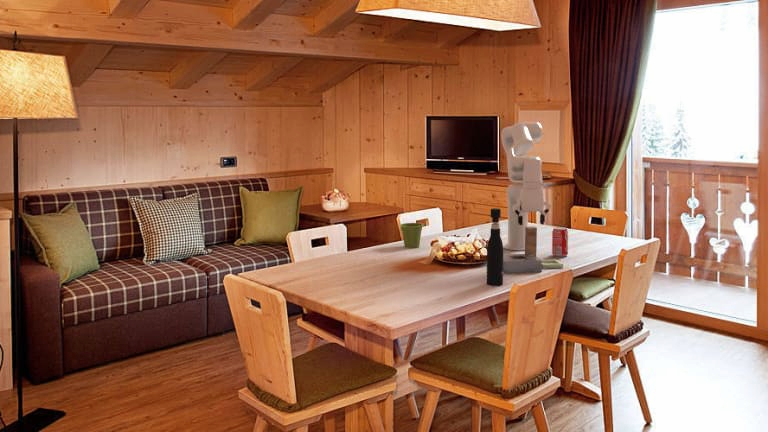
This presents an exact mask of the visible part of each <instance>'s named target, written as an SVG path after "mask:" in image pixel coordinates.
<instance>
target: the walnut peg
mask: <svg viewBox="0 0 768 432" xmlns="http://www.w3.org/2000/svg"><path fill="white" fill-rule="evenodd" d="M537 228H538V227H537V226H534V225H533V226H531V225H530V226H528V227H525V250H524V254H533V255H534V256H536V257H537V240H538V239H537V237H538V236H537V235H538V229H537Z"/></svg>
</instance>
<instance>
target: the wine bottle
mask: <svg viewBox="0 0 768 432" xmlns="http://www.w3.org/2000/svg"><path fill="white" fill-rule="evenodd" d="M501 214H502V213H501V208H496V207H495V208H490V218H491V224H490V225H491V228H490V234H489V235H490V236H489V239H488V242H487V247H486V285H487V286H490V287H501V286H503V285H504V273H503V255H504V245H503V241H502V236H501V228H500V227H501V225H500V218H501V216H502V215H501Z"/></svg>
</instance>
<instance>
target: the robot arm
mask: <svg viewBox="0 0 768 432" xmlns="http://www.w3.org/2000/svg"><path fill="white" fill-rule="evenodd" d="M543 129H544V128H543V127H542V125H541V123H540V122H537V121H523V122H522V121H521V122H516V123H514V124H513V125H511V126H505V127H504V128H503V129H502V130H501V132H500V133H501V134H500V137H501V138H500V139H501V145H502V147H503V149H504V152H505V155H506V160H507V161H506V165H507V175H508V179H509V181H510V182H512V184H510V185H508V186H507V188H506V192H505V193H506V201H507V244H504V245H503V249H506V250H510V251H525V227H529V212H532V213H533V212H539V213H540V215H539V224H540V225H544V224H545V222H546V215H547V213H549V212H550V209H551V207H552V205H551V204H549V203H547V202H545V201H544V184H545V183H544V182H543V174H542V164H543V162H542V159H541V158H540V157H539V156H537V155H525V154H528V153H529V152H531V151H532V149H533V147H534V144H536V143H537V142H539V141H540V140H541V139H542V137H543V132H544V131H543ZM544 206H545V207H544ZM544 208H545V209H544Z"/></svg>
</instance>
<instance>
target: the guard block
mask: <svg viewBox="0 0 768 432" xmlns="http://www.w3.org/2000/svg"><path fill="white" fill-rule="evenodd" d="M542 260H543V259H540V258H539V257H537V255H536V256H534V255H533V254H525V253H513V254H503V272H504V273H503V274H522V273H523V274H528V273H542V271H543V268H542Z"/></svg>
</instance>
